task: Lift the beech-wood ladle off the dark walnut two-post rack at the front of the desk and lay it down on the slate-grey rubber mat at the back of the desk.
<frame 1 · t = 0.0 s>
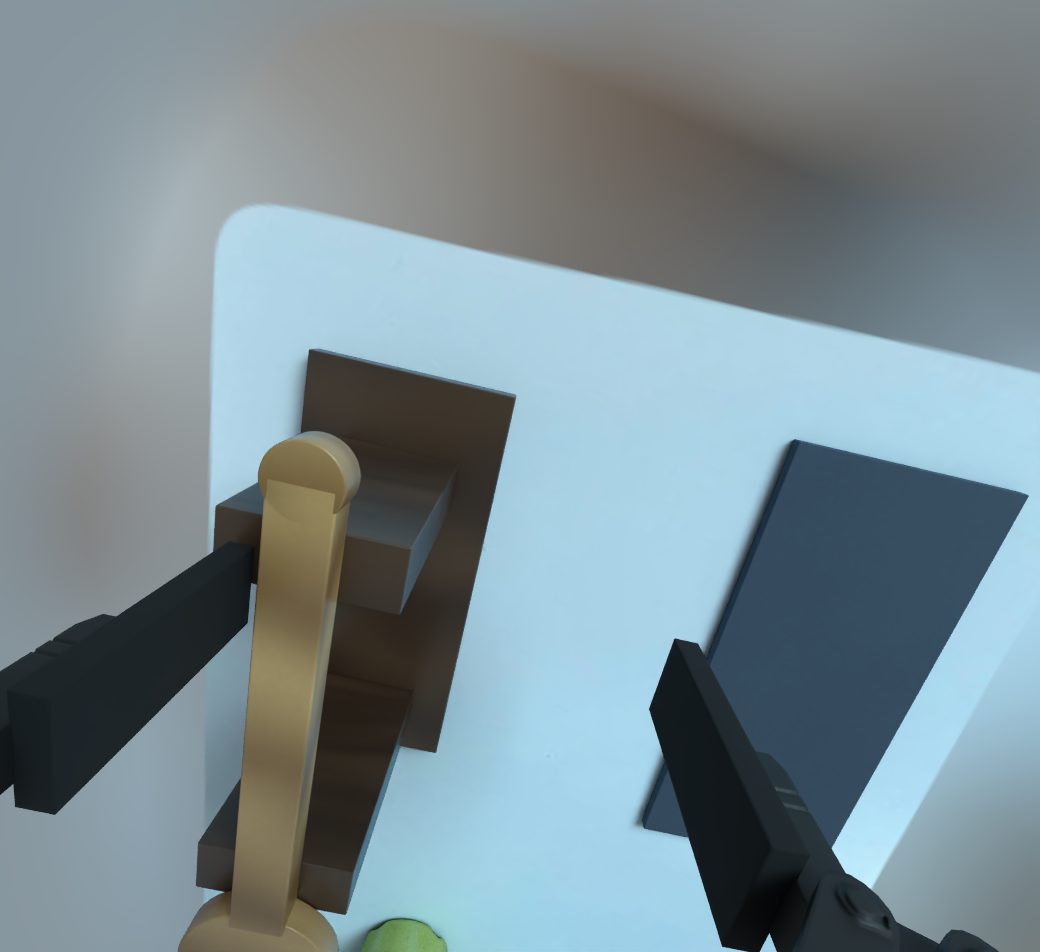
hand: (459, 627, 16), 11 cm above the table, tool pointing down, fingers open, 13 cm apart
mat: (807, 675, 29), on the table
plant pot: (407, 941, 36), on the table
ladle: (292, 716, 17), point 11 cm above the table, touching rack
rack: (385, 568, 27), on the table
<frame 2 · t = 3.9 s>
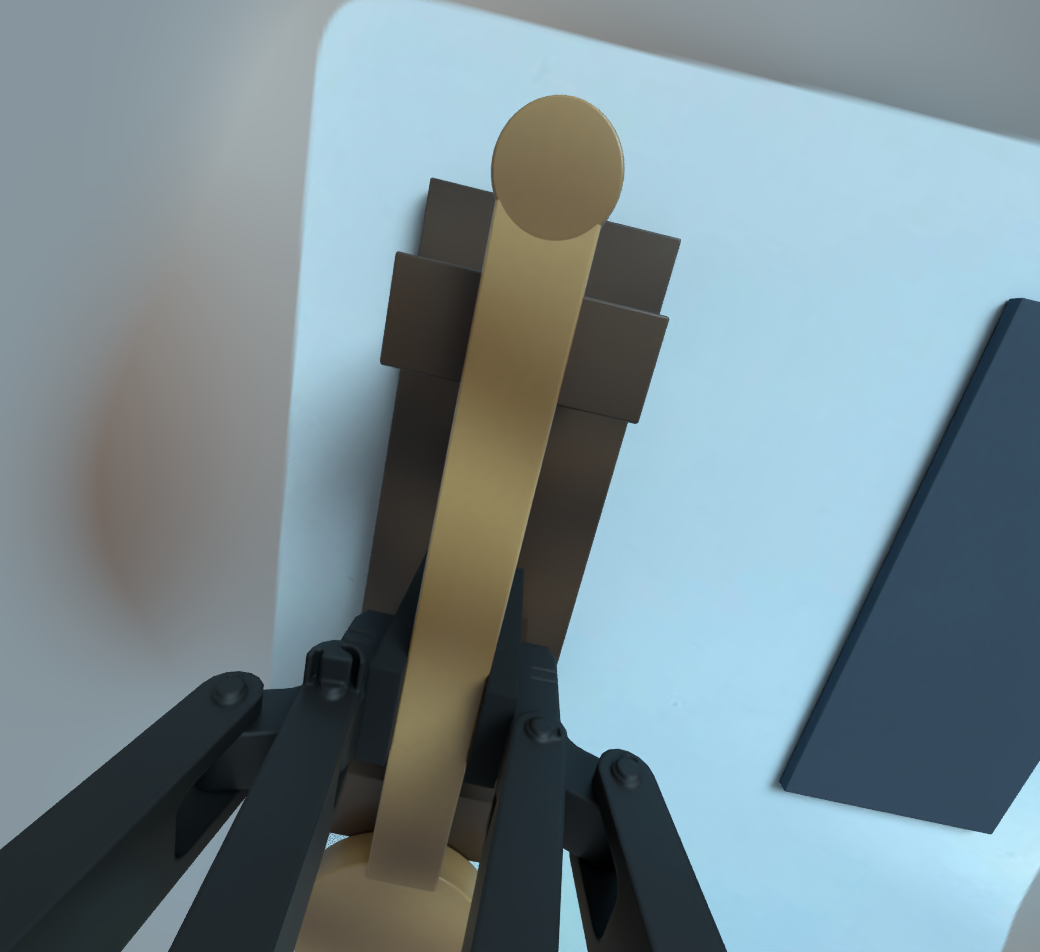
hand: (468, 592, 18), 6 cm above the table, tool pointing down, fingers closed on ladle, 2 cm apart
mat: (993, 602, 24), on the table
ladle: (468, 581, 12), point 11 cm above the table, touching gripper, rack
rack: (498, 469, 23), on the table
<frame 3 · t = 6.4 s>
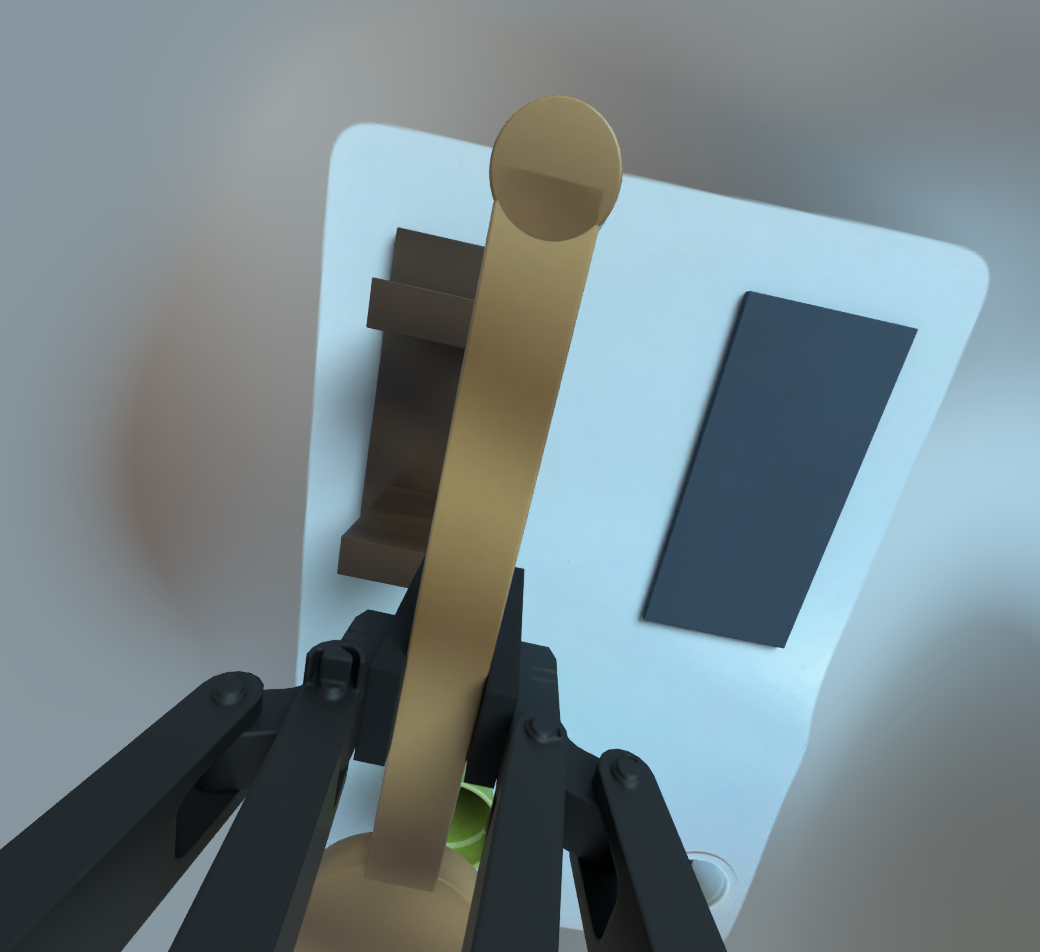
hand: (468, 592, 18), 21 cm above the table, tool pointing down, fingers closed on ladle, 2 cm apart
mat: (765, 485, 38), on the table
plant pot: (456, 736, 45), on the table
ladle: (467, 582, 12), point 25 cm above the table, touching gripper
rack: (446, 403, 37), on the table
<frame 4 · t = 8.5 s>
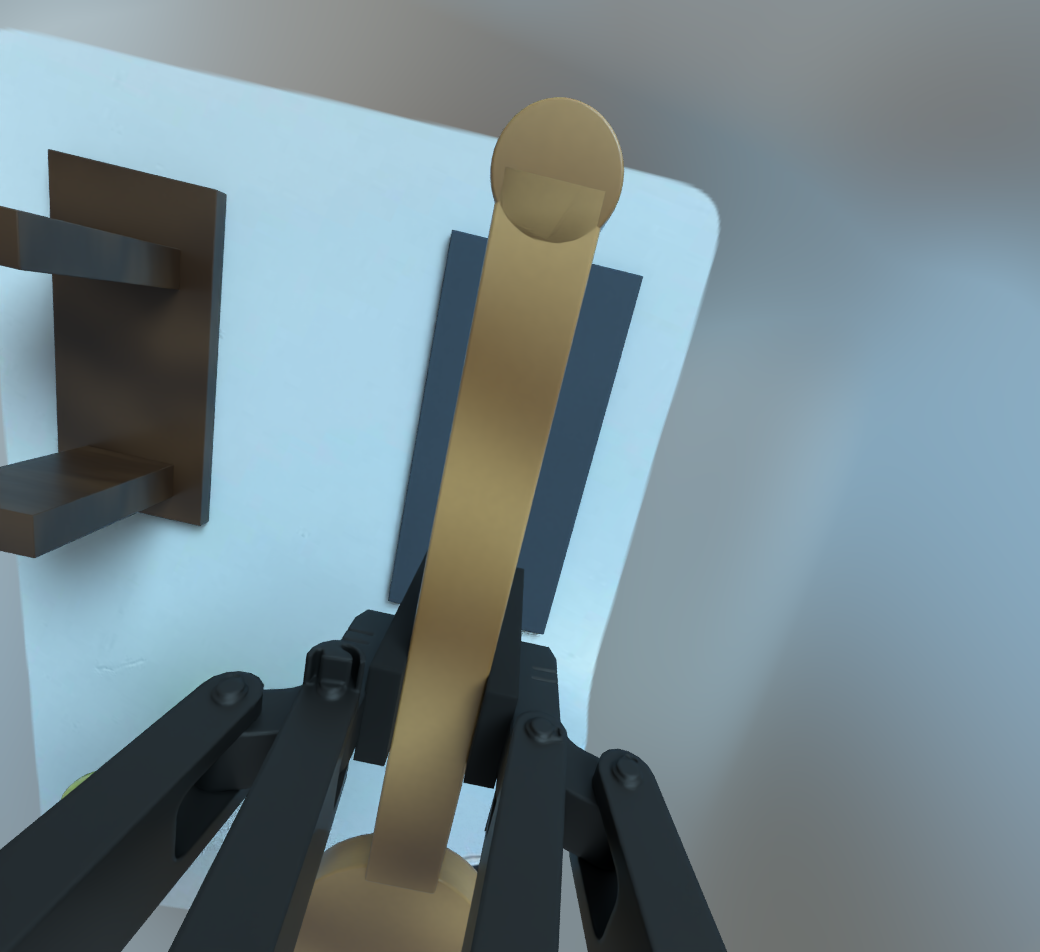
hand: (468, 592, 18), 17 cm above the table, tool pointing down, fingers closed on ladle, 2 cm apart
mat: (503, 452, 34), on the table
ladle: (467, 583, 12), point 22 cm above the table, touching gripper
rack: (142, 355, 33), on the table
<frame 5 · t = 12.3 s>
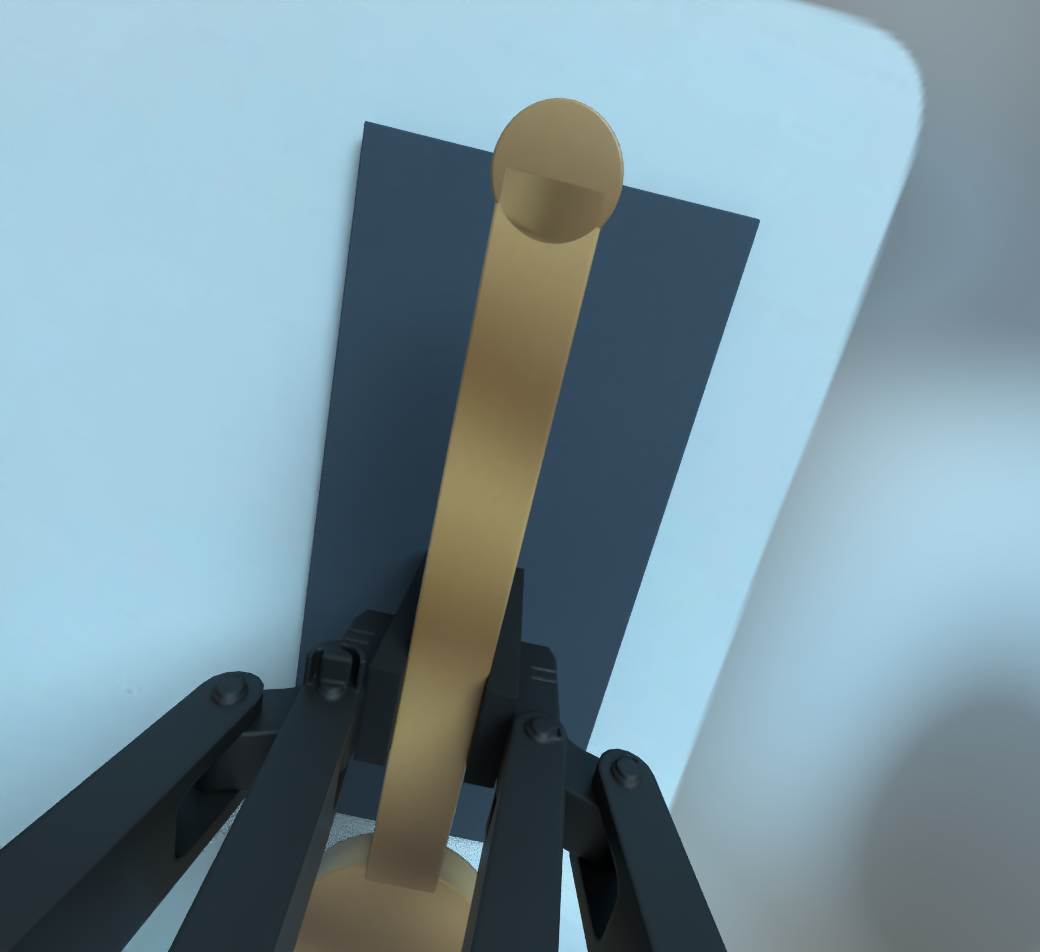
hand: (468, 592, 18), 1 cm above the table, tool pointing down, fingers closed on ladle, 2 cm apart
mat: (478, 556, 19), on the table
ladle: (467, 583, 12), point 6 cm above the table, touching gripper
when the fingers open (1 cm above the table, at t = 13.2 s): ladle drops 6 cm, resting on mat.
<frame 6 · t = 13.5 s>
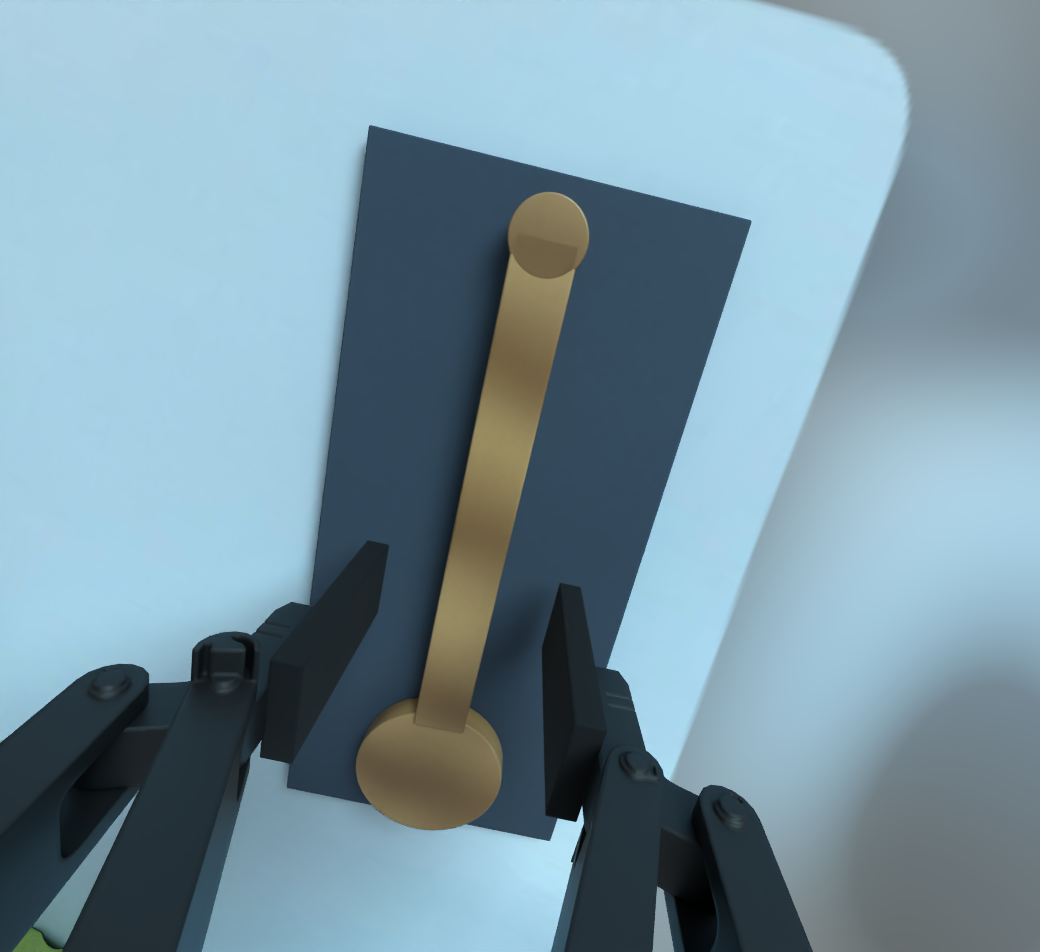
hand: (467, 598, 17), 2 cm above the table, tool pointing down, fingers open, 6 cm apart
mat: (479, 548, 19), on the table
ladle: (488, 507, 18), point 1 cm above the table, touching mat
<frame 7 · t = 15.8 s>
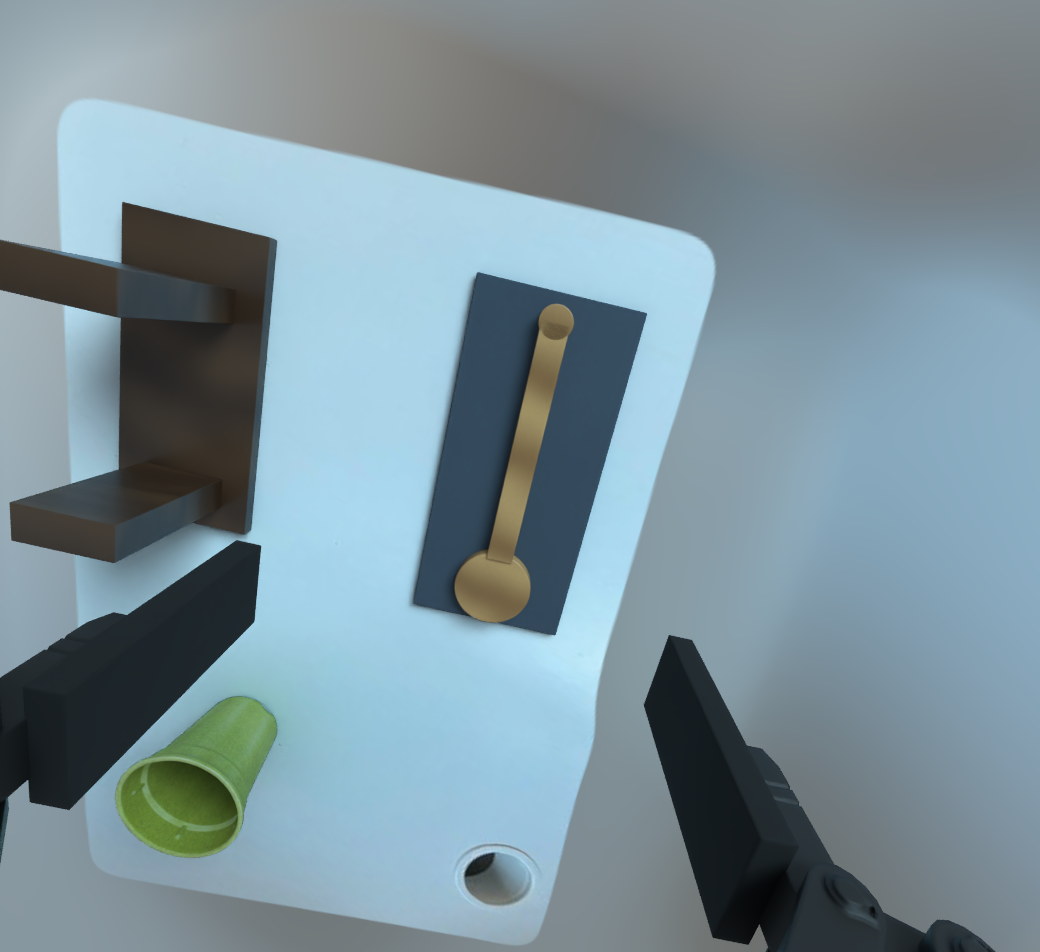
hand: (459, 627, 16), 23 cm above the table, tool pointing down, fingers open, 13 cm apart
mat: (520, 469, 38), on the table
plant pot: (246, 721, 45), on the table
ladle: (525, 446, 37), point 1 cm above the table, touching mat
rack: (197, 381, 37), on the table
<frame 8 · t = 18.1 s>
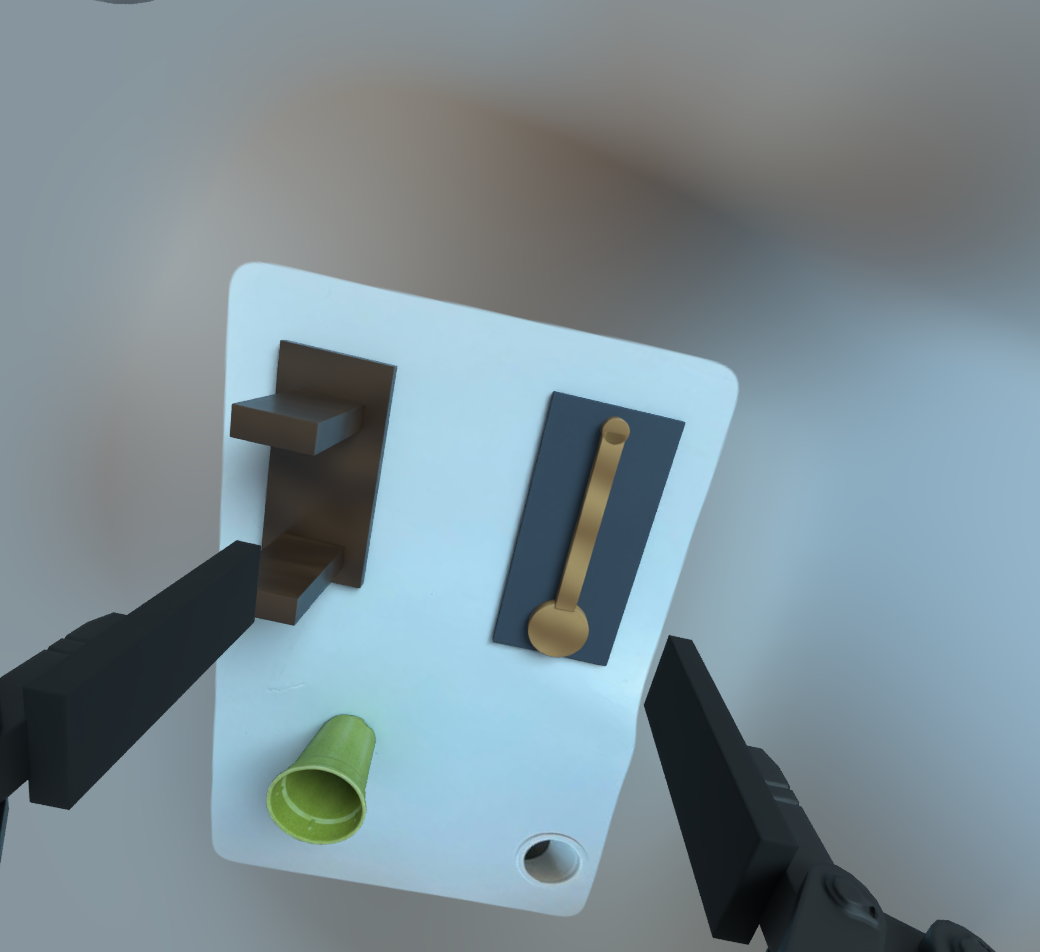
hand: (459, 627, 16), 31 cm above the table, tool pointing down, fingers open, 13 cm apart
mat: (581, 537, 48), on the table
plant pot: (349, 734, 55), on the table
ladle: (587, 521, 47), point 1 cm above the table, touching mat
rack: (327, 470, 47), on the table
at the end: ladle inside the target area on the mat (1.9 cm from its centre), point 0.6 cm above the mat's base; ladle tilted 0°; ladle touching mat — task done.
